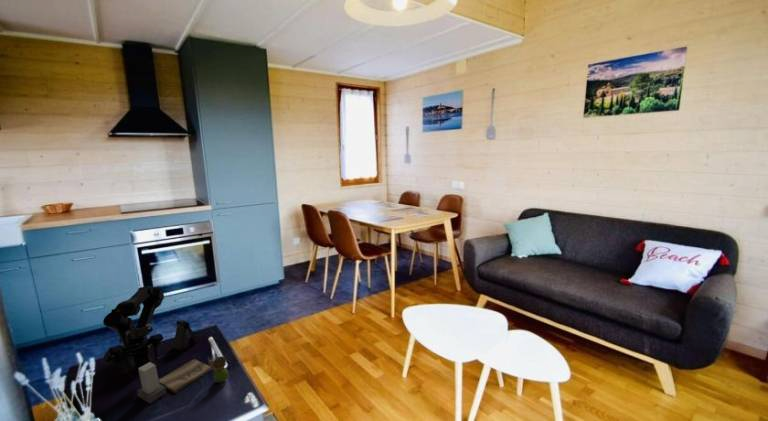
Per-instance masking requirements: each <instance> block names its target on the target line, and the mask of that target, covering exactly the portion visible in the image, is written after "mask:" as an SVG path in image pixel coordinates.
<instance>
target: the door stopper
mask: <svg viewBox="0 0 768 421" xmlns="http://www.w3.org/2000/svg"><path fill="white" fill-rule="evenodd" d="M175 325H176V330H175V335H174V339H173V346H172V347H173V348H174V349H175V350H177V351H180V352H183V351H184V350H186V349H188V348H190V347H192V346H193V345H195V344H197V343H199V342H200V340H199V338H198V336H197V335H196V334H195V332H194V331H193V329H192V328H191V324H190V322H188V321H185V320H183V319H181V318H180V319H179V320H176V322H175ZM186 337H187V339H186Z"/></svg>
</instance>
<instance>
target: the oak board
mask: <svg viewBox="0 0 768 421" xmlns="http://www.w3.org/2000/svg"><path fill="white" fill-rule="evenodd" d="M211 370H212V368H211V367H210V365H209V364H206V363H203V362H202V361H199V360H198V359H195V358H193V359H192V360H190V361H188V362H186V363H184V364H182V365H181V366H180V367H178V368H175V370H173V371H171V372H169V373H168V374H166V375H164V376H163V377H161V378H158V380H159V384H161V385H162V386H164V387H166V390H167V389H168V390H170V391H171V392H173V393H174V394H176V393H178V392H180V390H182V389H184V388H185V387H187V386H189V385H190V384H191V383H194V382H195V381H196V380H198V379H200V378H201V377H203V376H204V375H206V374H208V373H209V372H210V371H211ZM212 371H213V370H212Z"/></svg>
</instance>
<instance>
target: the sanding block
mask: <svg viewBox="0 0 768 421" xmlns="http://www.w3.org/2000/svg"><path fill="white" fill-rule="evenodd" d="M138 370H139V372H138V374H139V378H140V384H141V388H139V389H138V390H137V391H136V392H137V396H138V397H139V398H140V399H142V401H145V402H146V403H148V404H152V403H153V402H155V401H157V400H158V399H160V398H162V397H164V395H166V394H167V393H168V392H167V388H166V387H164V386H162V385H161V384H159V376H158V371H157V370H158V369H157V366H156V364H155V363H154V364H152V363H151V362H149V363H147V364H145V365H143V366H142V367H140V368H138Z"/></svg>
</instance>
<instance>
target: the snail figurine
mask: <svg viewBox="0 0 768 421" xmlns="http://www.w3.org/2000/svg"><path fill="white" fill-rule="evenodd" d="M226 360H227V359H226V358H225V356H218V357H216V358H215V359H214V361H213V360H212V359H210V358H209V357H207V363H208V366H210V367H211V368H212V371H214V372H213V374H212V375H213V376H212V378H213V381H214V382H216V383H219V384H220V383H224V382H225V381H226V380H227V379H228V377H229V375H230V374H229V370H228V369H227V368H226V365H227V363H226V362H227V361H226Z"/></svg>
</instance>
